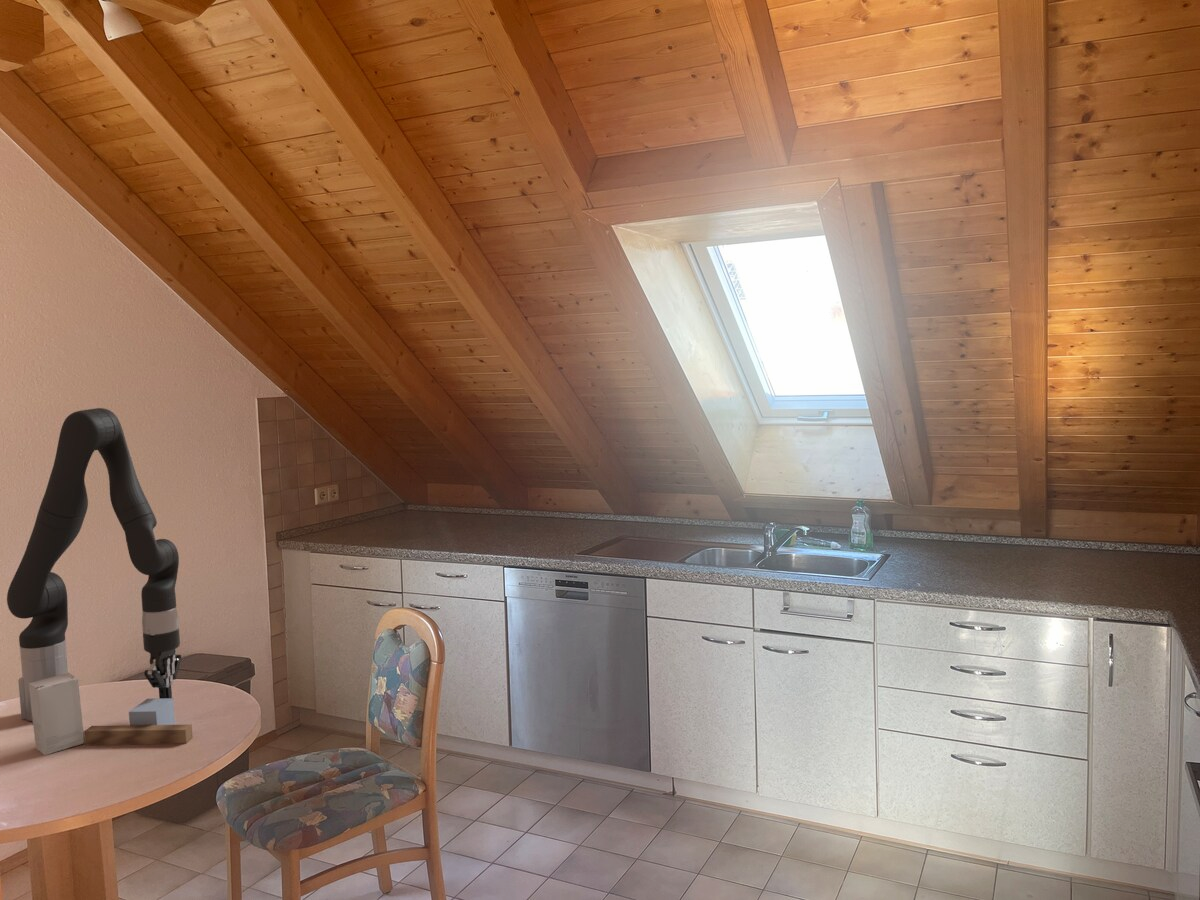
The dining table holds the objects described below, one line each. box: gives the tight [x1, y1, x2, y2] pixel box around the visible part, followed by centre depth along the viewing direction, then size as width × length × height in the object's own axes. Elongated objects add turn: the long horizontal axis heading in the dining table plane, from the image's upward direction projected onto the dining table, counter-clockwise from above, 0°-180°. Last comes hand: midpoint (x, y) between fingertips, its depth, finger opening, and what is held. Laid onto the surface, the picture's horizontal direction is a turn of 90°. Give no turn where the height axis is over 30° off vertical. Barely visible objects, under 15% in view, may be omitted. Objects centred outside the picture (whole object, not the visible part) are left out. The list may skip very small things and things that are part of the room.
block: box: [128, 697, 176, 725], centre depth 213 cm, size 6×8×6 cm
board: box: [83, 723, 194, 746], centre depth 207 cm, size 22×3×3 cm, turn 88°
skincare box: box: [29, 672, 85, 756], centre depth 205 cm, size 8×6×15 cm
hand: (165, 702), depth 220 cm, fingers closed
